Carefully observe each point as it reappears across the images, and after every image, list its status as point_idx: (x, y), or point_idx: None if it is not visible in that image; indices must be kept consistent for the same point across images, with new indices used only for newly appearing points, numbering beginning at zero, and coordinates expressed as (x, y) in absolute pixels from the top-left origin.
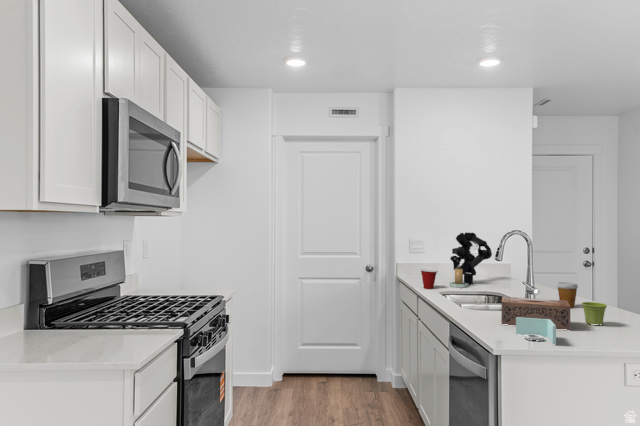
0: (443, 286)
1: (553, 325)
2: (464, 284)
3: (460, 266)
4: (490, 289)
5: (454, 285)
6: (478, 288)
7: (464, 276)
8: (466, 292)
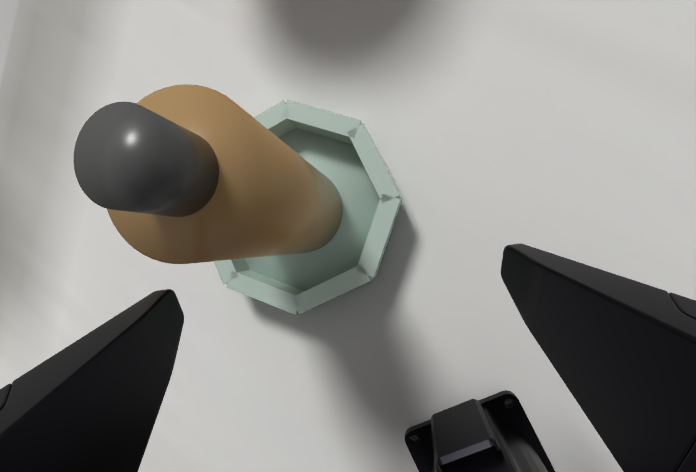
0: (358, 56)
1: None
2: None
3: (90, 185)
4: None
5: None
6: None
7: (500, 460)
8: (10, 95)
